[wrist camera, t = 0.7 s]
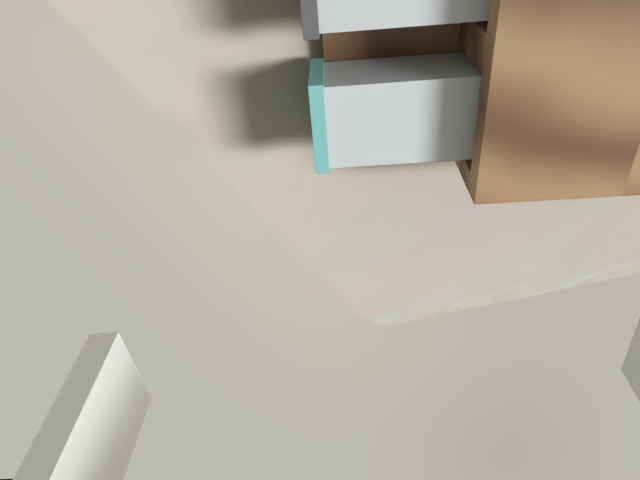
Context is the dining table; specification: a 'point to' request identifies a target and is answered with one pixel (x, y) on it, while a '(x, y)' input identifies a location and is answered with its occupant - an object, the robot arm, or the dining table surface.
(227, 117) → the dining table surface
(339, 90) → the teal key
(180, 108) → the dining table surface
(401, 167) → the dining table surface
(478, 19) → the charcoal key
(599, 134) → the key console
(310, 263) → the dining table surface
